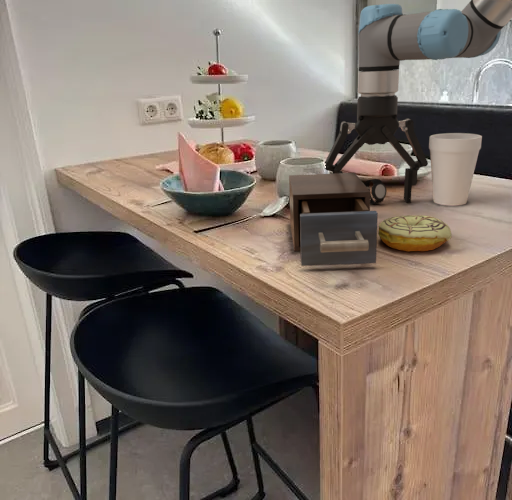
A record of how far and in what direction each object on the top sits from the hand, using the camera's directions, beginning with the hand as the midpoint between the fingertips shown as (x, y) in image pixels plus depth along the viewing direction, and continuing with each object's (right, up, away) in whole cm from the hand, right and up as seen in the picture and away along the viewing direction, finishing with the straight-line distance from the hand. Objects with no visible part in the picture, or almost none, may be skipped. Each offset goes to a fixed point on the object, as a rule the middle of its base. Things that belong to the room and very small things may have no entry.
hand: (373, 202), depth 103 cm
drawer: (-13, -11, -29) cm, 34 cm away
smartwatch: (0, 0, 0) cm, 0 cm away
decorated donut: (+1, -9, -24) cm, 25 cm away
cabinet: (-12, -7, -18) cm, 23 cm away
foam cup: (+15, 0, -2) cm, 15 cm away
